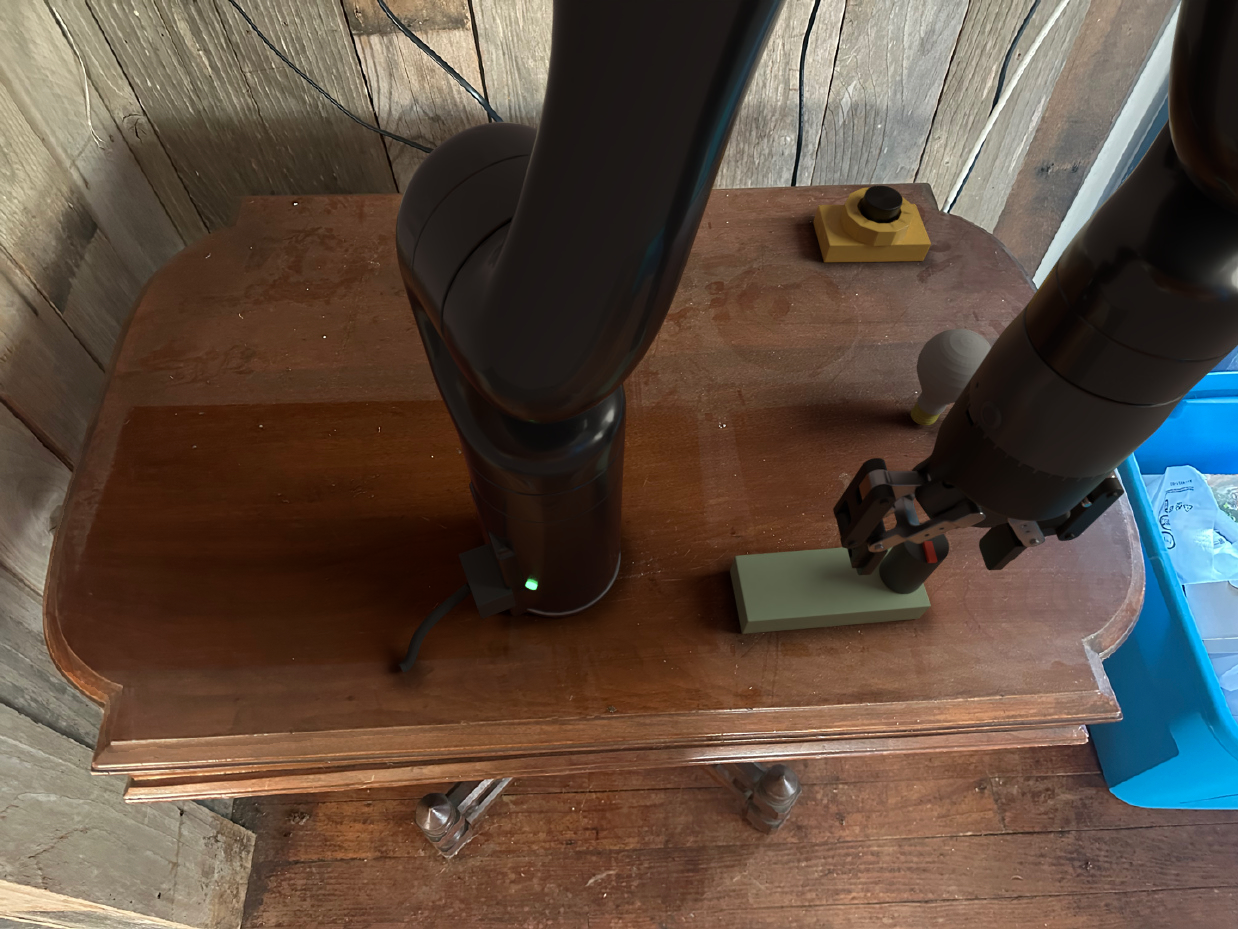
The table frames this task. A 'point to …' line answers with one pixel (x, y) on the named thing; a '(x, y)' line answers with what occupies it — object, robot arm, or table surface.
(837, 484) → the table surface
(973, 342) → the light bulb
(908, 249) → the switch box
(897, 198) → the button
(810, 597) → the dimmer panel
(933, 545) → the dimmer knob
